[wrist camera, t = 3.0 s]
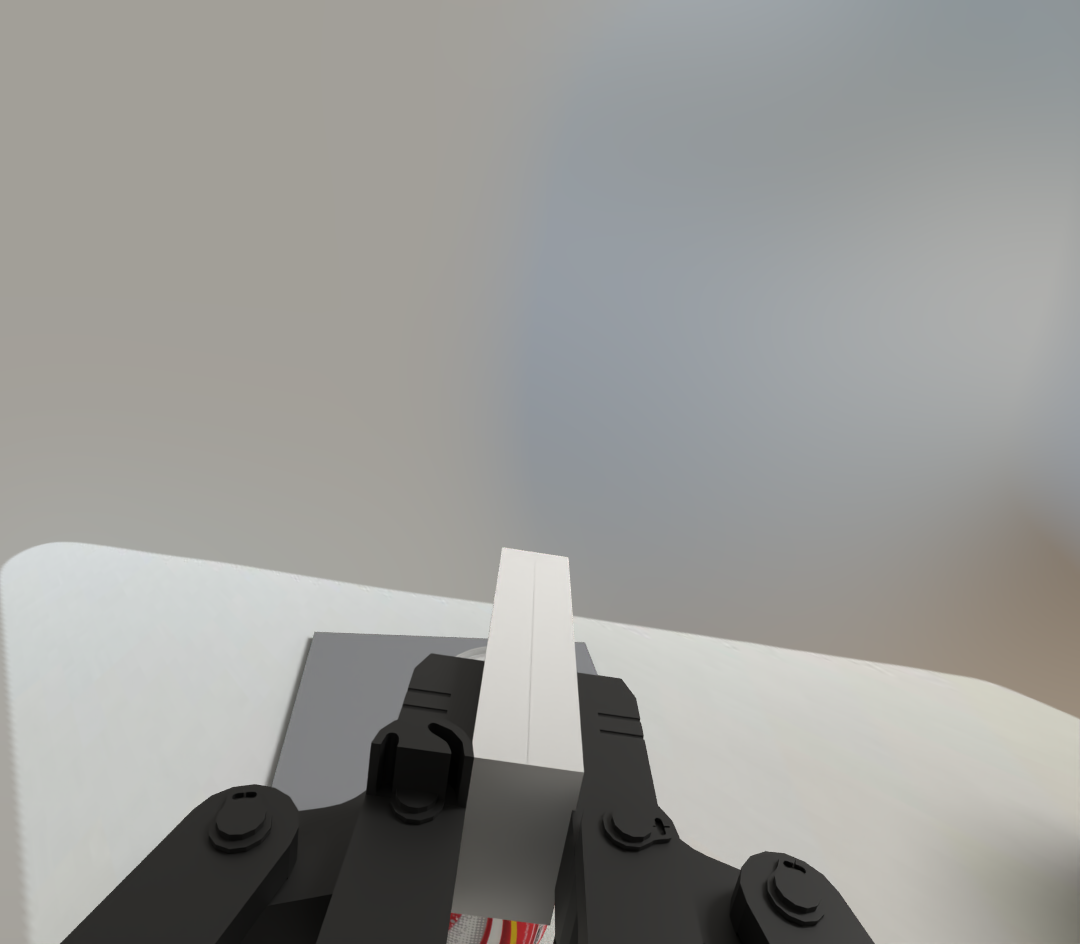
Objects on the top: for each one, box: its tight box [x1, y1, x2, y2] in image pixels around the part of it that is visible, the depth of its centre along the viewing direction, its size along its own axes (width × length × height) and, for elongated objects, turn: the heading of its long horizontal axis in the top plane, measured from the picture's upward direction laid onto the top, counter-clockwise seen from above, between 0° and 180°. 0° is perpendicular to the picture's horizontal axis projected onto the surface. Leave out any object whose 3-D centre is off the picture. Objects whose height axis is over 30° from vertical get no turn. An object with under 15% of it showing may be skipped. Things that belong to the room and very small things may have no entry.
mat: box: [272, 632, 597, 811], centre depth 42 cm, size 20×16×1 cm
